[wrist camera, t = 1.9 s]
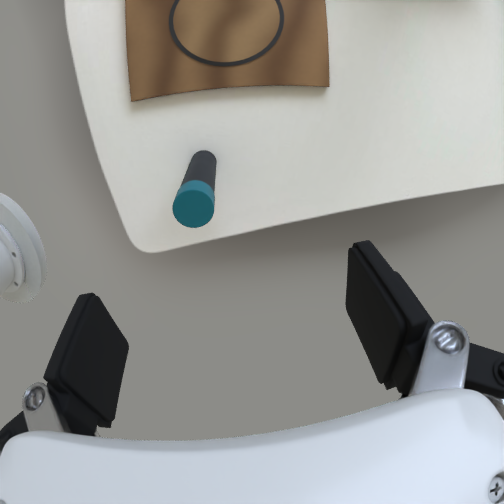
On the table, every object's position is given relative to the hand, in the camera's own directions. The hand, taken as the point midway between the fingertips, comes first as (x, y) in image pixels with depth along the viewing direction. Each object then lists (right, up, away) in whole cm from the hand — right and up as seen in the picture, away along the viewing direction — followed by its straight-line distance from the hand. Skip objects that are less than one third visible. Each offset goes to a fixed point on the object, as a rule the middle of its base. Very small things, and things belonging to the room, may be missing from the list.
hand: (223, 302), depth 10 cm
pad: (-1, +22, +8) cm, 24 cm away
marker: (-4, +10, +16) cm, 19 cm away
